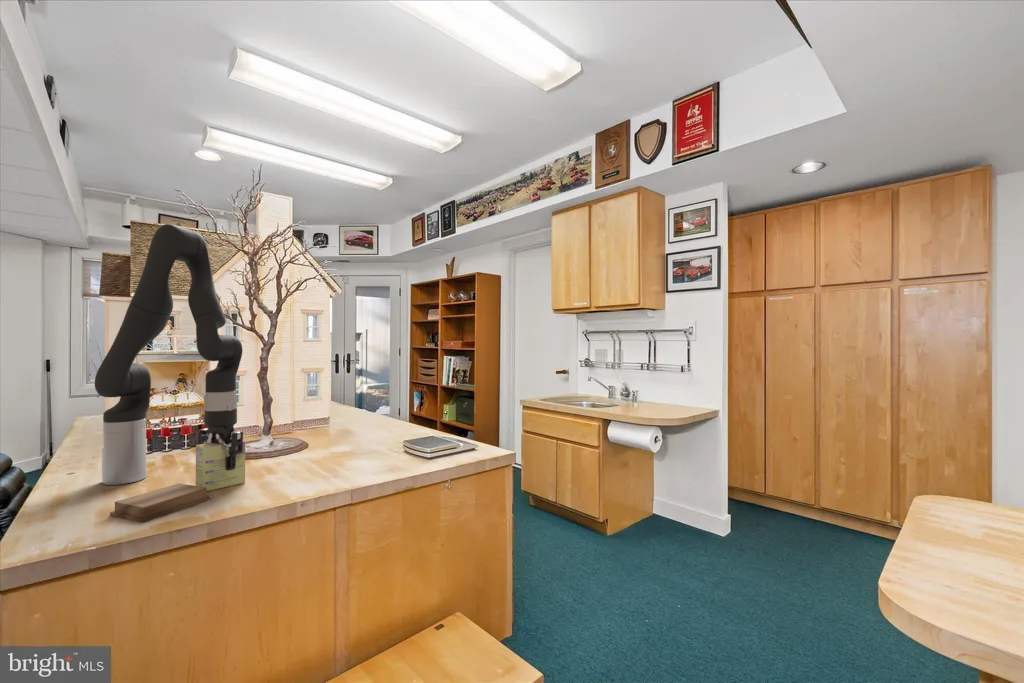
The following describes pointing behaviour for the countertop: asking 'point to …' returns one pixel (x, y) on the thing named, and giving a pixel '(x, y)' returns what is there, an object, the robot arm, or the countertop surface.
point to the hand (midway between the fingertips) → (220, 468)
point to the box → (218, 467)
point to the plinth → (159, 502)
